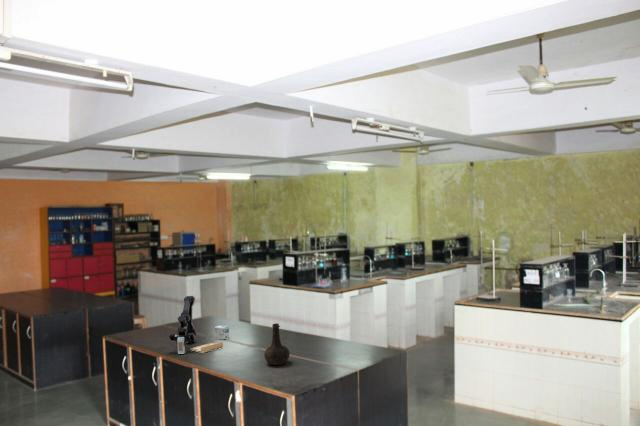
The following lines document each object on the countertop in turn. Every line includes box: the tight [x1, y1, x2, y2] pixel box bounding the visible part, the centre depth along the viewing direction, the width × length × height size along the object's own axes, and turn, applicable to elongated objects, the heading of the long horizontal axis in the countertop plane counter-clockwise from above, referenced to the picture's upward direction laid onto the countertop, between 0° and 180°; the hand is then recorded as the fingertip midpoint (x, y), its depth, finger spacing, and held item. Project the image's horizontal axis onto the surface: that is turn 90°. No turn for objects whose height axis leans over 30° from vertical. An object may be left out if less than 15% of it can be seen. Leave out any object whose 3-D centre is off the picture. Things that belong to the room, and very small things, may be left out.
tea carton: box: [176, 337, 186, 355], centre depth 395 cm, size 4×4×13 cm
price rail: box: [201, 341, 224, 352], centre depth 400 cm, size 1×20×3 cm, turn 138°
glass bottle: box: [263, 323, 290, 366], centre depth 359 cm, size 18×18×28 cm
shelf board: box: [189, 342, 224, 354], centre depth 405 cm, size 16×20×2 cm
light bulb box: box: [214, 325, 230, 340], centre depth 439 cm, size 11×7×11 cm, turn 65°
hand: (180, 346), depth 394 cm, fingers closed on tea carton, 4 cm apart
